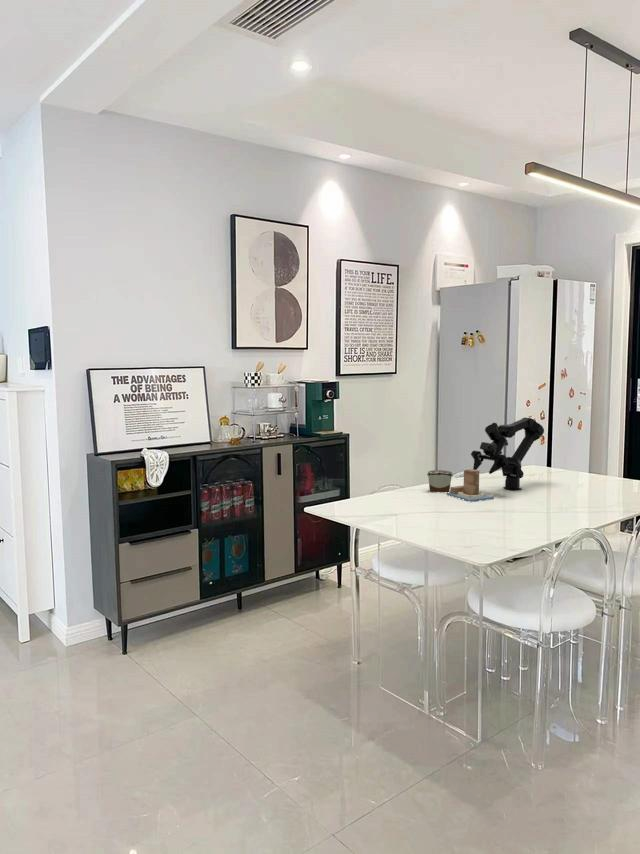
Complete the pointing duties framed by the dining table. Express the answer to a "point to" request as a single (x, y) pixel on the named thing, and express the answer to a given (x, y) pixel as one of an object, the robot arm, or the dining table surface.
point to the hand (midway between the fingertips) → (481, 472)
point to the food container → (439, 480)
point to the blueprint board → (458, 493)
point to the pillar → (471, 482)
